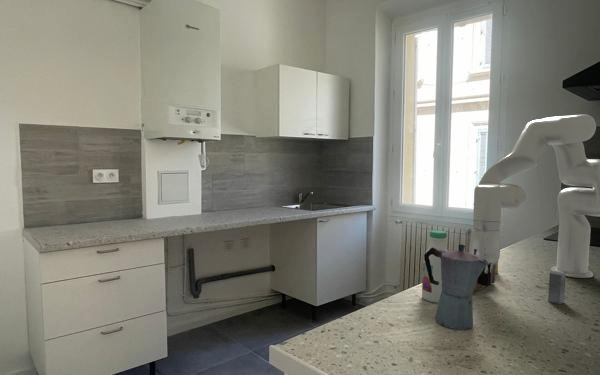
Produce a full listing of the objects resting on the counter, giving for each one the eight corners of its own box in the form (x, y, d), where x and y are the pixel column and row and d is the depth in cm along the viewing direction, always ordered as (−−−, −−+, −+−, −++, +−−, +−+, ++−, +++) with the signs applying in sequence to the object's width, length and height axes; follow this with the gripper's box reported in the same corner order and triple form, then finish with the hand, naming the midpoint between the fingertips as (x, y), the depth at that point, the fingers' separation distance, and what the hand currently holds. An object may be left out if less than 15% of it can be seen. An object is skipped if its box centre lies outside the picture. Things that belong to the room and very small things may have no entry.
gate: (495, 282, 130) (496, 260, 130) (470, 294, 119) (472, 269, 118) (487, 280, 132) (488, 258, 132) (461, 291, 121) (463, 267, 120)
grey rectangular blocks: (479, 279, 135) (480, 255, 135) (564, 302, 114) (565, 273, 113) (474, 280, 134) (475, 256, 133) (559, 304, 112) (561, 275, 112)
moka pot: (483, 337, 90) (487, 251, 89) (415, 322, 99) (418, 243, 97) (488, 323, 98) (492, 244, 97) (425, 310, 107) (428, 237, 105)
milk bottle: (449, 296, 118) (452, 230, 116) (450, 305, 110) (453, 234, 109) (422, 293, 120) (424, 228, 119) (421, 301, 113) (424, 232, 112)
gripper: (488, 221, 127) (485, 277, 128) (460, 226, 118) (458, 286, 120) (511, 225, 121) (509, 283, 122) (484, 230, 112) (482, 293, 114)
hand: (484, 284), depth 121 cm, fingers closed
